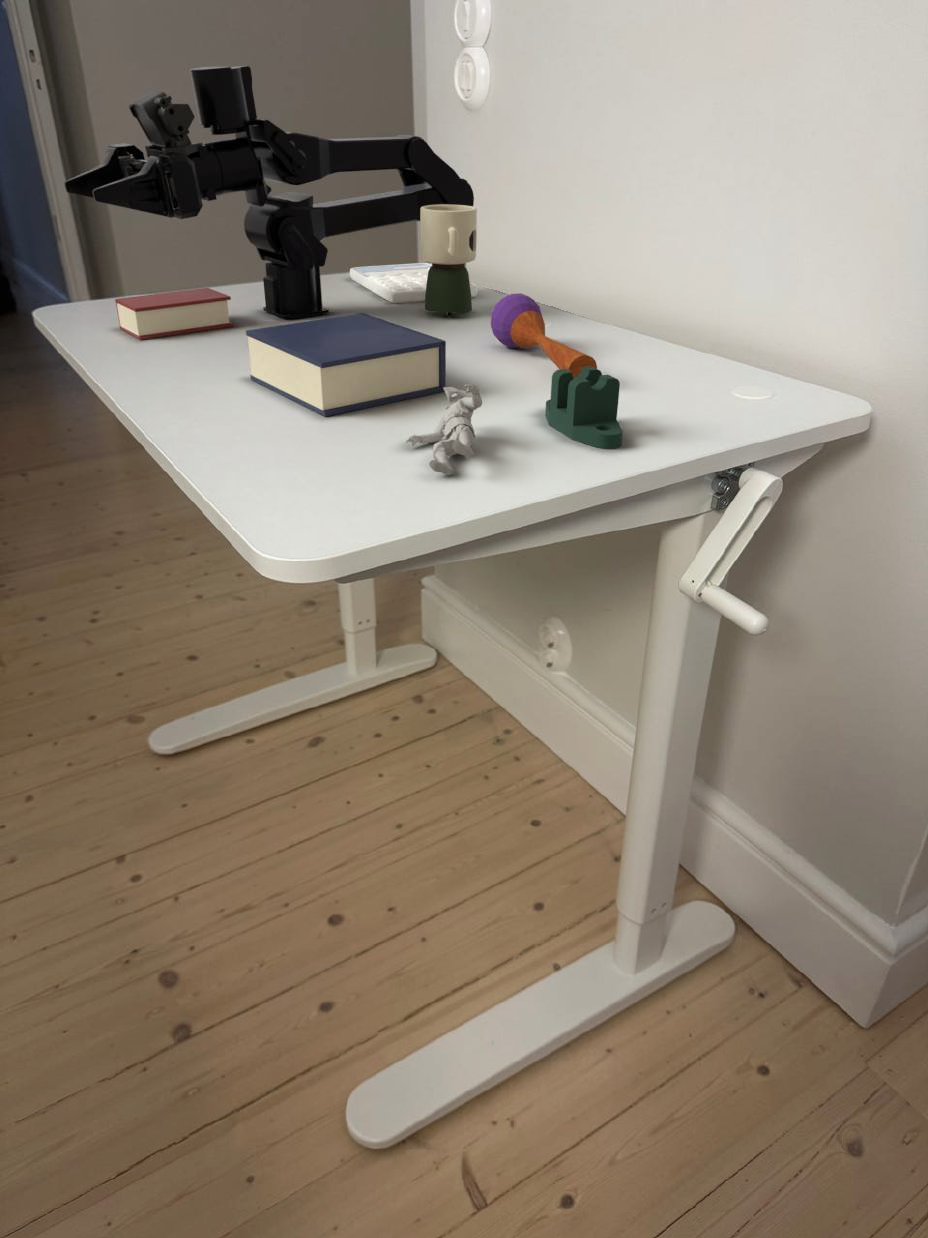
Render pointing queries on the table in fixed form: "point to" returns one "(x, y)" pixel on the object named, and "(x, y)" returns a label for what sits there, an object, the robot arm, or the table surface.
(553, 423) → the mount
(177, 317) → the small book
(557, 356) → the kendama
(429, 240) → the character mug
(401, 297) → the calculator
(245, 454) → the table surface
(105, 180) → the robot arm
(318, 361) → the big book
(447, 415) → the soldier figure
